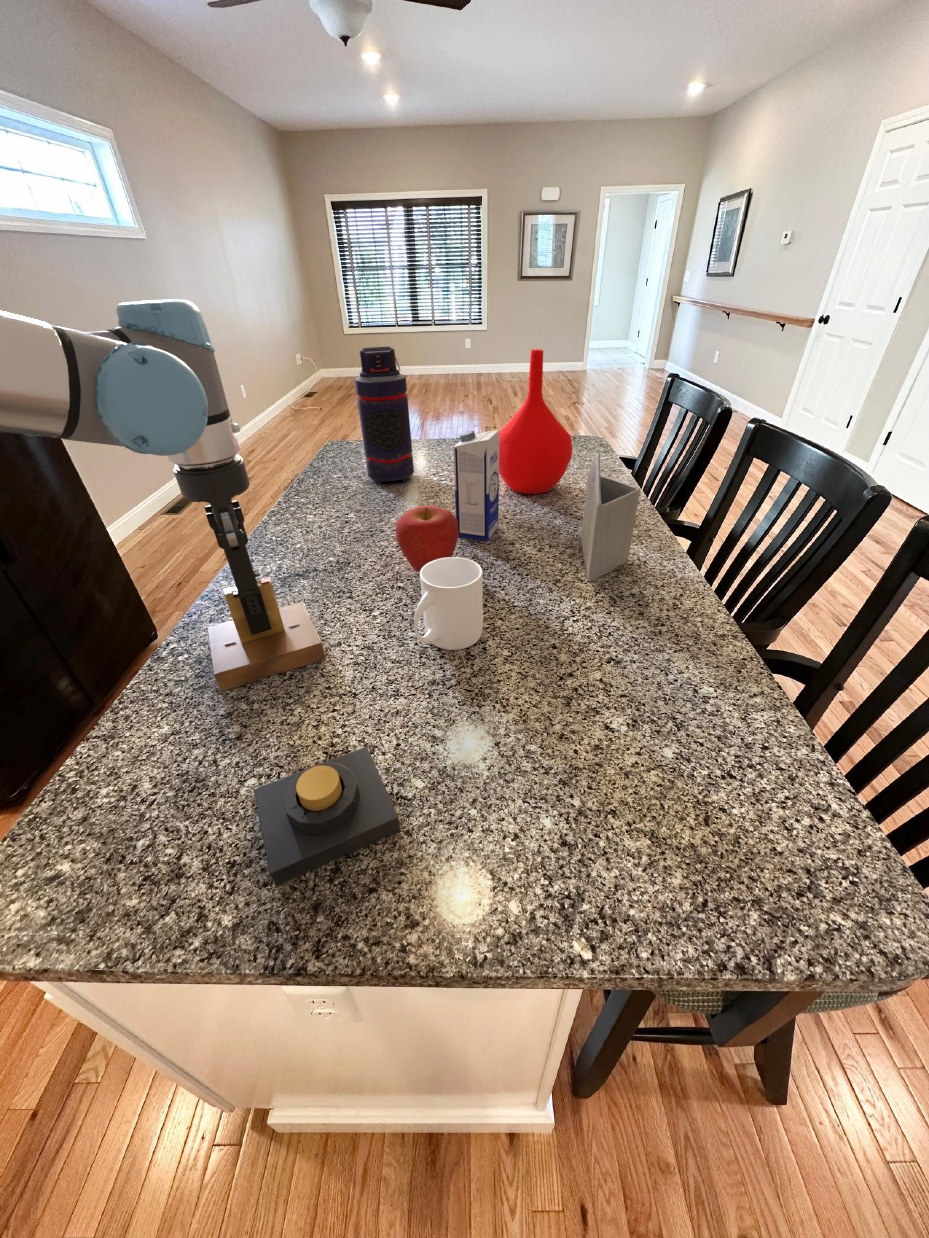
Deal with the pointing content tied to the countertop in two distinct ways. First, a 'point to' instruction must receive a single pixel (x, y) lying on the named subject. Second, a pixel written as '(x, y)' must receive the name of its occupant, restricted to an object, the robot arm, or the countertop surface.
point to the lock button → (319, 788)
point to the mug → (451, 603)
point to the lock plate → (264, 649)
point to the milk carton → (477, 484)
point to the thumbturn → (240, 616)
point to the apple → (426, 535)
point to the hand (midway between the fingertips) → (260, 626)
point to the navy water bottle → (384, 416)
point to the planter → (607, 522)
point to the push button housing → (324, 818)
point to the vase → (534, 441)
